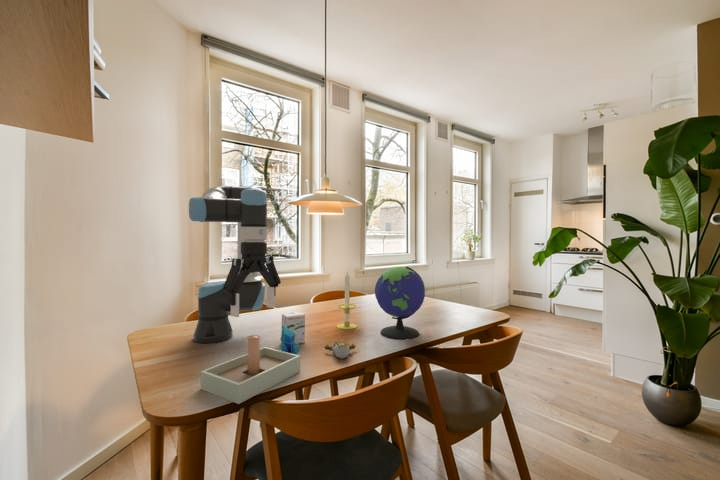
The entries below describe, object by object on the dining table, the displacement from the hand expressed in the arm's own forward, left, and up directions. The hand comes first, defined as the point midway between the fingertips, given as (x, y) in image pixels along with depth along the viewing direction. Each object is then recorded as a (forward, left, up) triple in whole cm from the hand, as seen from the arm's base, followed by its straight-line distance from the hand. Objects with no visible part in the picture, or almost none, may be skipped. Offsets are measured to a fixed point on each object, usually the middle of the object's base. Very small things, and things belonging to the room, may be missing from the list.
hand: (253, 311), depth 99 cm
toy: (+10, +32, -21) cm, 40 cm away
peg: (0, 0, -21) cm, 21 cm away
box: (0, 0, -21) cm, 21 cm away
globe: (+19, +66, -21) cm, 72 cm away
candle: (-7, +63, -21) cm, 67 cm away
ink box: (-13, +32, -21) cm, 40 cm away
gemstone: (-2, +18, -21) cm, 28 cm away
